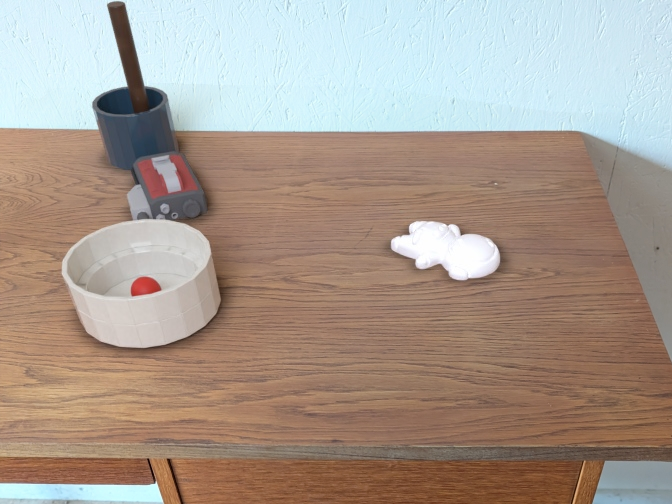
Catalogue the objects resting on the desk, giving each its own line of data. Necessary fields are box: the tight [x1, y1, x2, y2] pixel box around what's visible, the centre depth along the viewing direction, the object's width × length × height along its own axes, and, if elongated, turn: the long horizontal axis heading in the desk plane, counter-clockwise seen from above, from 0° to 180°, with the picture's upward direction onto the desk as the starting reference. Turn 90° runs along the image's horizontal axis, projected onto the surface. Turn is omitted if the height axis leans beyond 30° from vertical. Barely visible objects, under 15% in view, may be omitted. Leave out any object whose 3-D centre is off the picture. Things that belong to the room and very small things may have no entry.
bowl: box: [61, 219, 222, 349], centre depth 72 cm, size 14×14×6 cm
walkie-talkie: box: [126, 151, 209, 221], centre depth 85 cm, size 9×4×20 cm
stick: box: [106, 0, 150, 114], centre depth 88 cm, size 2×2×17 cm
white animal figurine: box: [390, 220, 501, 281], centre depth 79 cm, size 9×12×3 cm
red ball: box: [131, 276, 162, 297], centre depth 73 cm, size 3×3×3 cm
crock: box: [91, 85, 180, 171], centre depth 93 cm, size 9×9×7 cm
